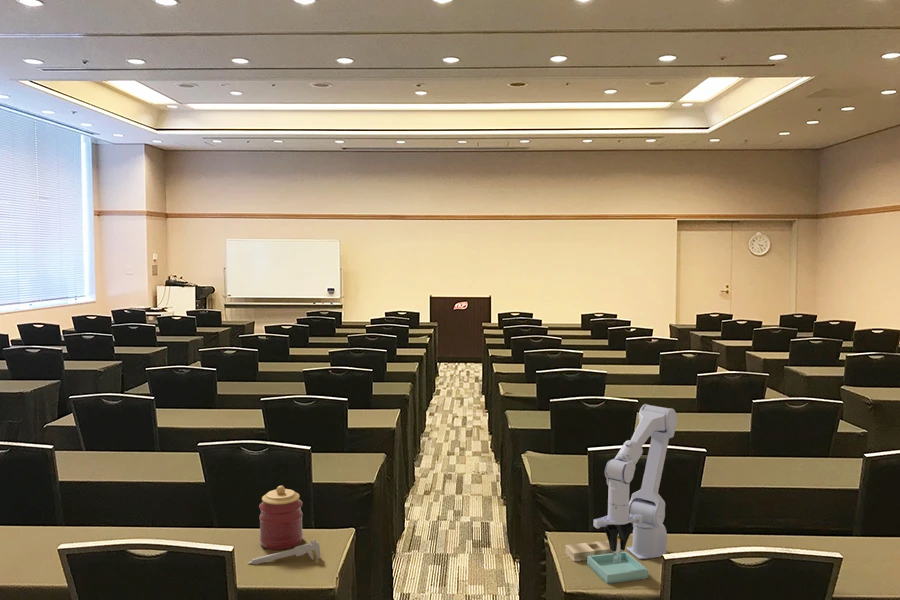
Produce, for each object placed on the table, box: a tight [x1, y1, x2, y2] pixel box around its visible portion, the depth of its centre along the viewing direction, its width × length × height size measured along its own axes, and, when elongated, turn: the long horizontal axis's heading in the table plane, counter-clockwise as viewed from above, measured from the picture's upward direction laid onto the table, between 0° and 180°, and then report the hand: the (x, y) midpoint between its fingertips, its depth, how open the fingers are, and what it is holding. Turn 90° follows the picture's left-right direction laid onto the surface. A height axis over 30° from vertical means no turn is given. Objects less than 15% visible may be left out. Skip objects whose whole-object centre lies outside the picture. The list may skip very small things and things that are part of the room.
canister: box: [258, 485, 304, 550], centre depth 230 cm, size 13×13×18 cm
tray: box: [586, 551, 649, 585], centre depth 211 cm, size 12×12×2 cm
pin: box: [613, 535, 621, 564], centre depth 211 cm, size 2×2×8 cm
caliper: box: [247, 538, 321, 565], centre depth 217 cm, size 21×1×6 cm, turn 101°
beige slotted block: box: [564, 539, 625, 562], centre depth 222 cm, size 16×6×2 cm, turn 106°
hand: (617, 549), depth 211 cm, fingers closed on pin, 2 cm apart
